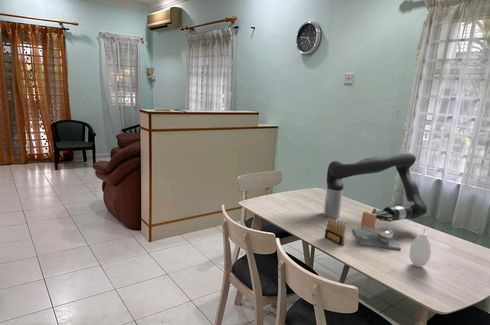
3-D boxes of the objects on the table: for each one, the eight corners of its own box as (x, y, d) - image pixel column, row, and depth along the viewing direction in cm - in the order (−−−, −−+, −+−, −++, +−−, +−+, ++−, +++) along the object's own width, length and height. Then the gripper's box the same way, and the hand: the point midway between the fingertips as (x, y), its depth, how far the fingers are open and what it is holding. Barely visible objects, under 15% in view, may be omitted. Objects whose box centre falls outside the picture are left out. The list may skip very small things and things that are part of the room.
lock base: (360, 245, 160) (361, 238, 160) (352, 230, 178) (353, 223, 177) (400, 250, 159) (401, 242, 158) (388, 234, 176) (389, 227, 175)
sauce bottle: (404, 260, 149) (411, 223, 145) (421, 261, 149) (429, 225, 145) (412, 269, 141) (420, 231, 137) (430, 271, 141) (438, 232, 137)
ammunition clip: (343, 245, 160) (347, 222, 157) (341, 246, 159) (344, 223, 156) (326, 237, 168) (329, 215, 166) (324, 237, 167) (326, 215, 165)
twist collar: (393, 236, 164) (397, 218, 162) (390, 240, 158) (393, 222, 156) (362, 227, 173) (365, 209, 171) (358, 231, 167) (361, 213, 165)
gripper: (386, 202, 179) (361, 205, 172) (405, 211, 167) (380, 214, 160) (383, 215, 181) (359, 218, 174) (403, 224, 169) (377, 228, 162)
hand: (369, 216), depth 167 cm, fingers closed
